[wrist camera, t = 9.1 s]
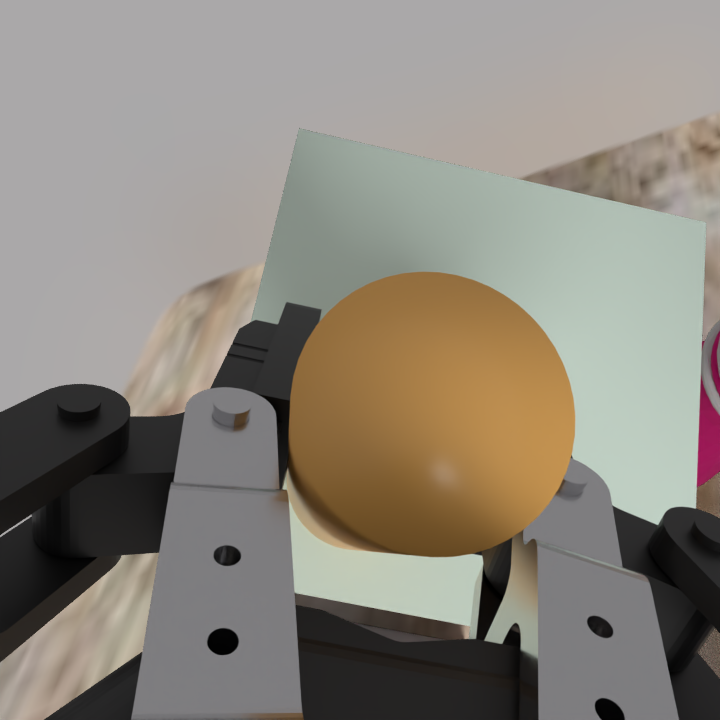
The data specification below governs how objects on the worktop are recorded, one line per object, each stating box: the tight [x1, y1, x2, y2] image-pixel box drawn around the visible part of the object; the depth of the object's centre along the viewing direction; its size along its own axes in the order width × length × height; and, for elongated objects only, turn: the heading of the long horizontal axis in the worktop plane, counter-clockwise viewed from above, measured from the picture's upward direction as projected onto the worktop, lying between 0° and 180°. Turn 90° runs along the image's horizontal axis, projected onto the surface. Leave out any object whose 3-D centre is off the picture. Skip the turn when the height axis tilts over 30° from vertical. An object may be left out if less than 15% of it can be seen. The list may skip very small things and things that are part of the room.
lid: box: [251, 128, 706, 626], centre depth 13 cm, size 11×11×10 cm
